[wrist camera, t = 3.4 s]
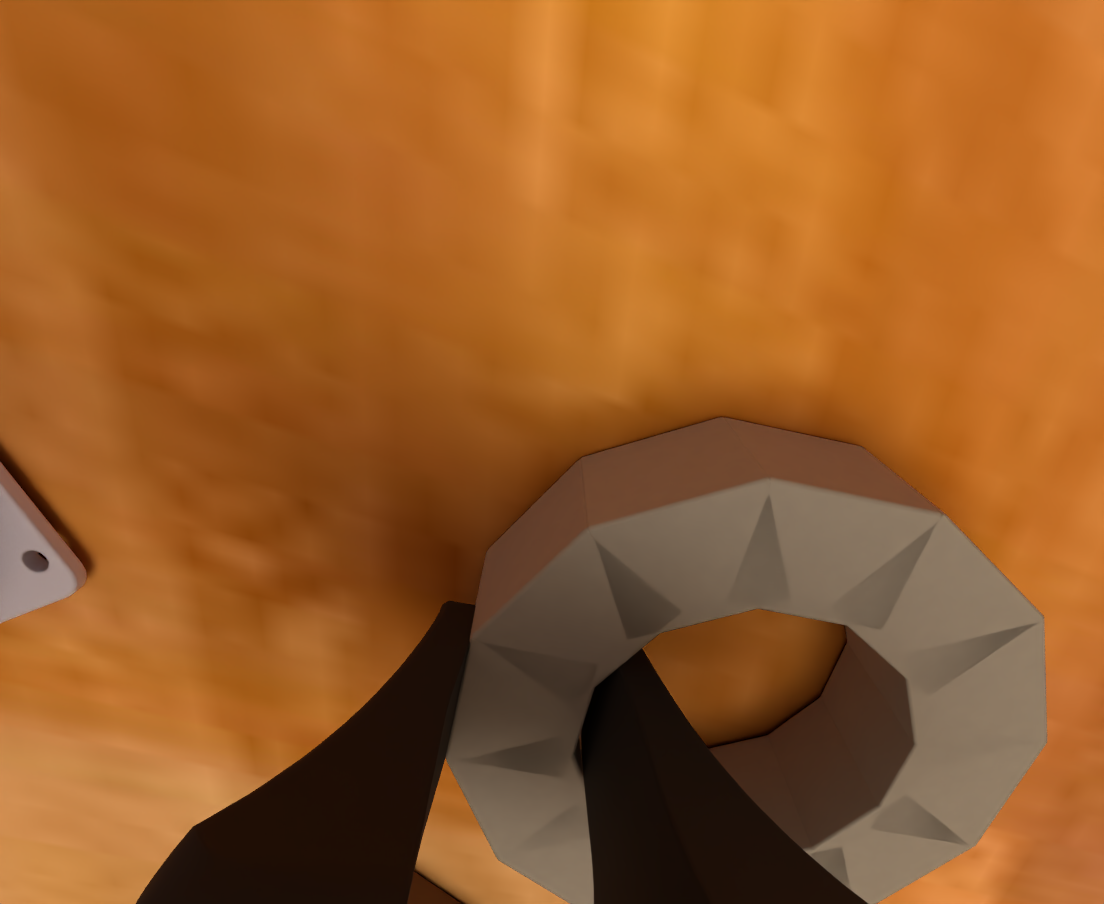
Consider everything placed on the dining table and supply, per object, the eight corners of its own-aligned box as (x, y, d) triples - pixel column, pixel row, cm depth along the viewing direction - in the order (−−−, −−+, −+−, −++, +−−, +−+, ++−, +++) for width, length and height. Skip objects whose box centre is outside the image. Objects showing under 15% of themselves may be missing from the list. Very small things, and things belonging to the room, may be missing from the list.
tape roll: (398, 508, 13) (356, 591, 11) (928, 354, 12) (1041, 402, 9) (554, 848, 17) (554, 973, 14) (965, 760, 16) (1052, 879, 13)
